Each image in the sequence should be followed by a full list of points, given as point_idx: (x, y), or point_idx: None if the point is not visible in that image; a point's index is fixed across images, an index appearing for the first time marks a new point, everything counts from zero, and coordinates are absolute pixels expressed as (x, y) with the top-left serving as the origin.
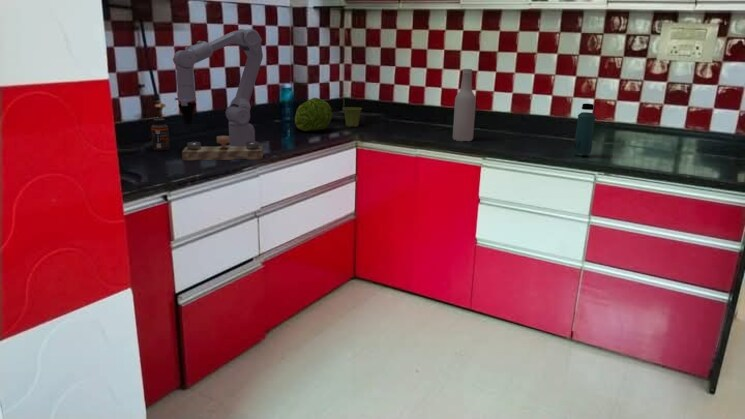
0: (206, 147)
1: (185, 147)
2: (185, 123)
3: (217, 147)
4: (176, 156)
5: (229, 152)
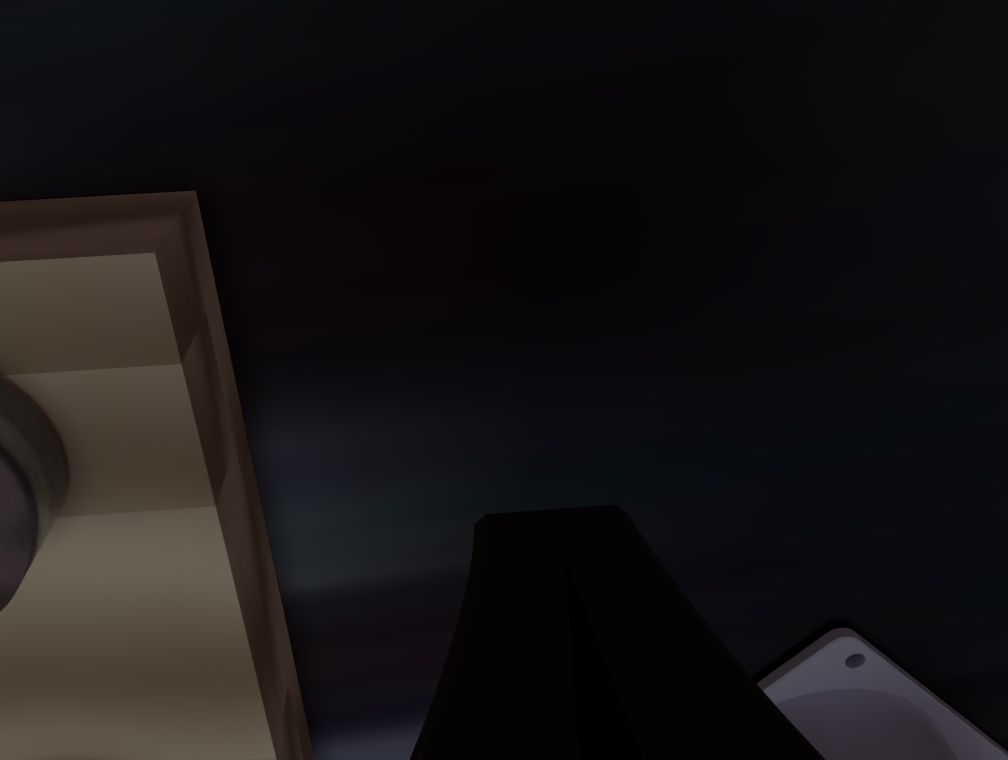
0: (150, 605)
1: (66, 261)
2: (482, 523)
3: (179, 738)
4: (30, 16)
5: None
